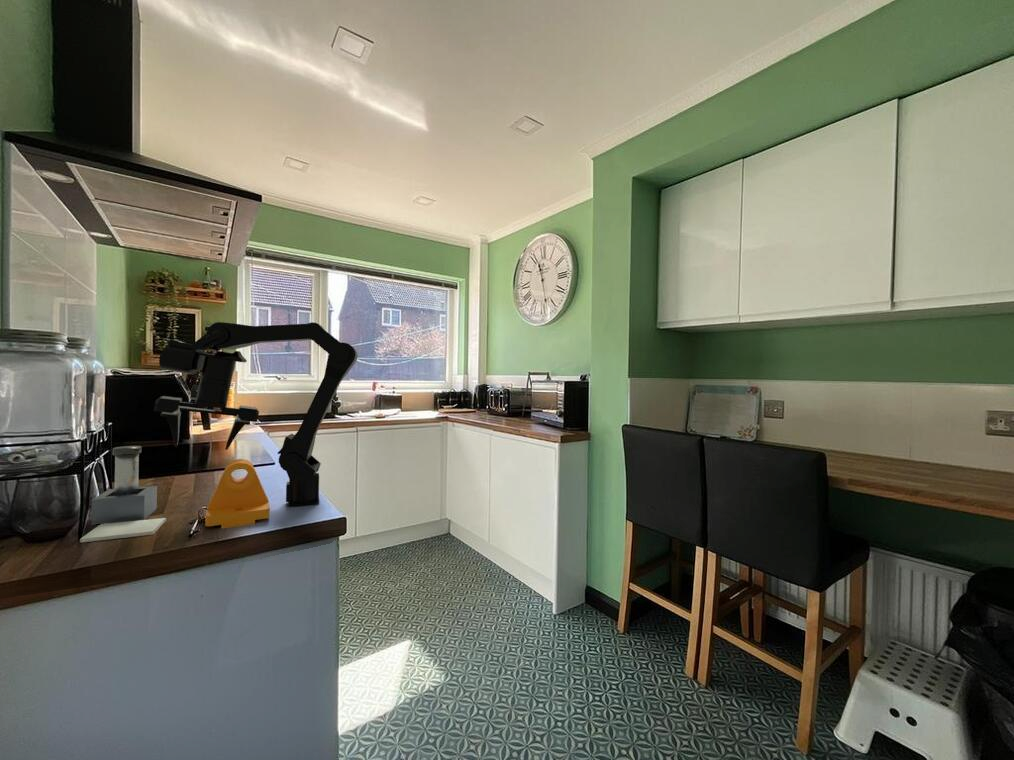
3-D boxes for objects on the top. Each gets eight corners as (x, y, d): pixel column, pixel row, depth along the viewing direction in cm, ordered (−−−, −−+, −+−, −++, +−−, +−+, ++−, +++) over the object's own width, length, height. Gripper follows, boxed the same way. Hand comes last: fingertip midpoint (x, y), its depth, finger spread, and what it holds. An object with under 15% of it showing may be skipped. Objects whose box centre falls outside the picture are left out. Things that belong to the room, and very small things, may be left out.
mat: (165, 520, 85) (166, 517, 85) (153, 534, 77) (153, 531, 77) (100, 527, 80) (100, 524, 80) (80, 542, 73) (80, 539, 73)
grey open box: (156, 508, 92) (157, 485, 92) (144, 520, 85) (144, 495, 85) (108, 513, 88) (109, 489, 88) (91, 525, 81) (91, 499, 81)
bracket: (204, 531, 80) (206, 468, 80) (207, 519, 86) (208, 461, 86) (269, 521, 85) (271, 463, 85) (267, 511, 92) (268, 457, 92)
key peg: (143, 502, 89) (144, 445, 89) (136, 508, 85) (137, 448, 85) (116, 505, 87) (117, 446, 87) (107, 511, 84) (108, 449, 83)
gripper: (262, 383, 106) (249, 444, 105) (168, 369, 96) (153, 437, 95) (264, 386, 96) (250, 453, 96) (161, 371, 86) (145, 446, 86)
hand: (201, 447), depth 93 cm, fingers open, 9 cm apart
